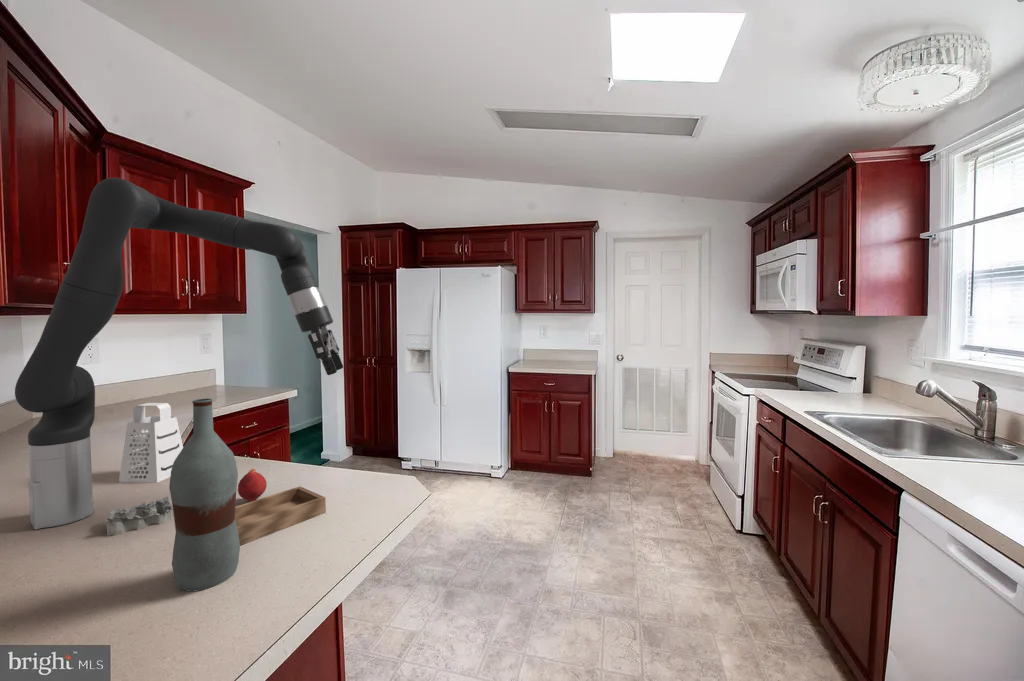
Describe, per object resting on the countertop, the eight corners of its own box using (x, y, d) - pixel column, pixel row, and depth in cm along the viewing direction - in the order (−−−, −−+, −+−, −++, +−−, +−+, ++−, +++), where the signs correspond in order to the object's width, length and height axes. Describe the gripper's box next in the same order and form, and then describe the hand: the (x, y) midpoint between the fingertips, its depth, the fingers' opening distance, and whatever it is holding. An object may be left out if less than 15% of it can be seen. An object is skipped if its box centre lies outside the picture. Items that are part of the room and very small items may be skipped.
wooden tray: (225, 551, 80) (224, 533, 80) (202, 534, 86) (201, 517, 86) (325, 512, 96) (325, 497, 96) (300, 500, 102) (299, 486, 102)
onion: (253, 508, 98) (252, 473, 98) (232, 505, 99) (231, 472, 99) (272, 497, 104) (271, 465, 104) (251, 496, 105) (251, 463, 105)
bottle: (163, 599, 66) (157, 406, 65) (182, 568, 74) (176, 397, 73) (235, 585, 70) (230, 402, 68) (245, 556, 78) (240, 393, 77)
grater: (157, 482, 114) (154, 408, 113) (118, 482, 114) (115, 407, 113) (187, 469, 124) (185, 400, 123) (152, 468, 125) (150, 400, 124)
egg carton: (104, 540, 85) (103, 519, 84) (106, 526, 90) (105, 507, 90) (173, 522, 92) (172, 504, 91) (170, 511, 97) (169, 493, 97)
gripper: (303, 314, 110) (327, 373, 112) (285, 314, 96) (313, 381, 98) (332, 305, 111) (355, 363, 113) (319, 303, 97) (346, 369, 99)
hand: (336, 371), depth 105 cm, fingers open, 8 cm apart
